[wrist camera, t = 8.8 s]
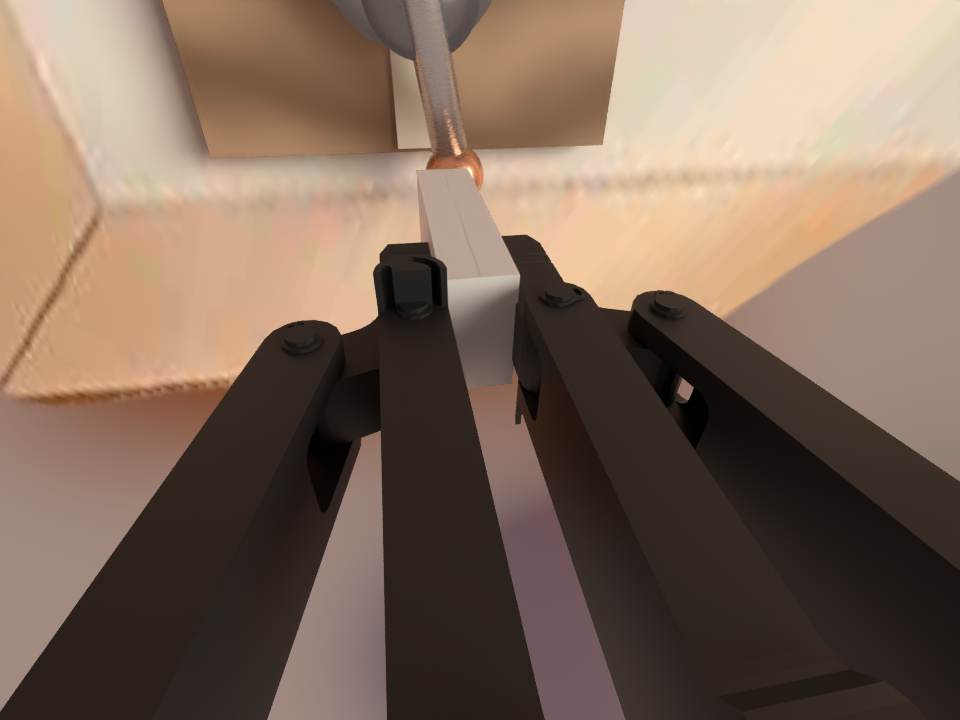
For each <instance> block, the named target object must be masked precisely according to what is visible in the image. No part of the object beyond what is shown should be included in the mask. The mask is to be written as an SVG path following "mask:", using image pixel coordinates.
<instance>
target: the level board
mask: <svg viewBox="0 0 960 720" xmlns="http://www.w3.org/2000/svg"><path fill="white" fill-rule="evenodd" d="M162 1H163V4H164V7H165V11H166V14H167V17H168V20H169V24H170V27H171V30H172V33H173V37H174V40H175V43H176V46H177V50H178V53H179V56H180V59H181V63H182V66H183V69H184V72H185V76H186V79H187V82H188V85H189V89H190V92H191V95H192V98H193V101H194V105H195V108H196V111H197V114H198V118H199V121H200V124H201V127H202V131H203V134H204V137H205V140H206V144H207V147H208V150H209V153H210V157H211V158H231V157H260V156H290V155H319V154H349V153H379V152H408V151H432V149H431V145H430V140H429V135H428V130H427V125H426V121H425V116H424V111H423V106H422V101H421V97H420V92H419V87H418V82H417V77H416V73H415V68H414V63H413V61H412V60H409V59H406V58H404V57H402V56H400V55H398V54H396V53H395V52H393V51H392V50H390V49H389V48H386V47H384V46H382V45H380V44H378V43H376V42H374V41H372V40H371V39H369V38H368V37H366V36H365V35H363V34H362V33H361V32H359V31H358V30H357V29H356V28H355V27H354V26H352V25H351V24H350V23H349V21H348V20H347V19H346V18H345V17H344V16H343V15H342V14H341V13H340V11H339V10H338V9H337V7H336V6H335V4H334V3H333V2H332V0H162ZM624 2H625V0H492V2H491V4H490V6H489V8H488V9H487V11H486V12H485V14H484V15H483V17H482V18H481V19H480V21H479V22H478V23H477V24H476V25H475V26H474V28H473V29H472V30H471V32H470V34H469V36H468V37H467V39H466V40H465V41H464V42H463V44H462V45H461V46H460V47H459V48H458V49H457V50H455V51H454V52H453V53H452V55H453V61H454V67H455V73H456V79H457V85H458V92H459V98H460V104H461V110H462V116H463V122H464V128H465V134H466V140H467V147H468V148H470V149H497V148H527V147H556V146H586V145H603V138H604V132H605V125H606V119H607V112H608V106H609V99H610V93H611V86H612V80H613V73H614V67H615V60H616V54H617V47H618V41H619V34H620V28H621V21H622V15H623V9H624Z"/></svg>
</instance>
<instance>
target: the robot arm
mask: <svg viewBox="0 0 960 720" xmlns="http://www.w3.org/2000/svg"><path fill="white" fill-rule="evenodd" d="M417 185H418V200H419V216H420V231H421V243H405V244H388V245H387V246H386V247H385V249H384V250H383V251H382V252H381V253H380V263H379V264H378V265H377V266H376V267H375V269H374V272H373V276H374V284H375V291H376V299H377V306H378V317H377V318H376V319H375V320H374V321H373V322H372V323H370V324H369V325H367V326H365V327H363V328H361V329H359V330H356V331H353V332H350V333H346V334H343V335H341V334H340V332H339V330H338V329H337V327H335V326H333V325H331V324H330V323H328V322H323V321H317V320H308V321H297V322H293V323H290V324H287V325H284V326H282V327H280V328H278V329H276V330H274V331H273V332H272V333H271V334H270V335H269V336H268V337H266V338H265V339H264V341H263V342H262V344H261V345H260V346H259V348H258V349H257V351H256V352H255V353H254V355H253V356H252V358H251V359H250V361H249V362H248V363H247V365H246V366H245V368H244V369H243V370H242V372H241V373H240V375H239V376H238V377H237V379H236V380H235V382H234V383H233V384H232V386H231V387H230V389H229V390H228V392H227V393H226V394H225V396H224V397H223V399H222V400H221V401H220V403H219V404H218V406H217V407H216V409H215V410H214V411H213V413H212V414H211V415H210V417H209V418H208V420H207V421H206V423H205V424H204V425H203V427H202V428H201V430H200V431H199V432H198V434H197V435H196V437H195V438H194V439H193V441H192V442H191V444H190V445H189V447H188V448H187V450H186V451H185V452H184V454H183V455H182V456H181V458H180V459H179V461H178V462H177V463H176V465H175V466H174V468H173V469H172V471H171V472H170V473H169V475H168V476H167V477H166V479H165V480H164V482H163V483H162V485H161V486H160V487H159V489H158V490H157V492H156V493H155V494H154V496H153V497H152V499H151V500H150V502H149V503H148V504H147V506H146V507H145V508H144V510H143V511H142V513H141V514H140V516H139V517H138V518H137V520H136V521H135V523H134V524H133V526H132V527H131V528H130V530H129V531H128V533H127V534H126V535H125V537H124V538H123V539H122V541H121V542H120V544H119V545H118V546H117V548H116V549H115V551H114V552H113V554H112V555H111V556H110V558H109V559H108V561H107V562H106V563H105V565H104V566H103V568H102V569H101V570H100V572H99V573H98V575H97V576H96V577H95V579H94V581H93V582H92V583H91V585H90V586H89V587H88V589H87V590H86V592H85V593H84V595H83V596H82V597H81V599H80V600H79V601H78V603H77V604H76V606H75V607H74V608H73V610H72V611H71V613H70V614H69V616H68V617H67V618H66V620H65V621H64V623H63V624H62V626H61V627H60V628H59V630H58V631H57V632H56V634H55V635H54V637H53V638H52V640H51V641H50V642H49V644H48V645H47V647H46V648H45V649H44V651H43V652H42V654H41V655H40V656H39V658H38V659H37V661H36V662H35V663H34V665H33V666H32V668H31V669H30V671H29V672H28V673H27V675H26V676H25V678H24V679H23V680H22V682H21V683H20V685H19V686H18V687H17V689H16V690H15V692H14V693H13V694H12V696H11V697H10V699H9V700H8V701H7V703H6V704H5V706H4V707H3V709H2V710H1V712H0V720H267V718H268V715H269V712H270V710H271V706H272V703H273V701H274V698H275V695H276V692H277V689H278V686H279V683H280V680H281V677H282V674H283V672H284V669H285V666H286V663H287V660H288V657H289V654H290V651H291V648H292V645H293V642H294V640H295V637H296V634H297V630H298V628H299V625H300V622H301V619H302V616H303V613H304V610H305V607H306V604H307V601H308V598H309V596H310V593H311V590H312V587H313V584H314V581H315V578H316V575H317V572H318V569H319V567H320V563H321V561H322V557H323V555H324V552H325V549H326V546H327V543H328V540H329V537H330V534H331V531H332V529H333V525H334V523H335V520H336V517H337V514H338V511H339V508H340V505H341V502H342V499H343V496H344V493H345V491H346V488H347V485H348V482H349V478H350V476H351V473H352V470H353V467H354V464H355V461H356V458H357V455H358V452H359V450H360V447H361V438H362V437H365V436H367V435H370V434H372V433H375V432H378V431H381V458H382V505H383V547H384V596H385V597H384V598H385V644H386V689H387V690H386V691H387V720H545V719H544V715H543V711H542V707H541V703H540V700H539V695H538V691H537V686H536V682H535V678H534V673H533V669H532V665H531V661H530V656H529V652H528V648H527V643H526V640H525V635H524V630H523V626H522V623H521V618H520V613H519V609H518V605H517V600H516V596H515V592H514V587H513V583H512V579H511V575H510V571H509V566H508V562H507V557H506V553H505V549H504V544H503V540H502V536H501V532H500V527H499V523H498V519H497V514H496V510H495V506H494V501H493V498H492V493H491V489H490V484H489V480H488V476H487V471H486V467H485V463H484V458H483V454H482V450H481V446H480V441H479V437H478V433H477V428H476V424H475V420H474V416H473V411H472V407H471V403H470V398H469V394H468V390H467V388H475V387H485V386H494V385H504V384H512V377H513V365H514V367H515V370H516V373H517V375H518V389H517V401H516V414H515V424H520V423H521V415H522V414H523V416H524V419H525V422H526V425H527V428H528V431H529V434H530V437H531V440H532V443H533V446H534V449H535V452H536V455H537V458H538V461H539V464H540V467H541V470H542V473H543V476H544V479H545V482H546V485H547V488H548V491H549V494H550V497H551V499H552V502H553V505H554V508H555V511H556V514H557V517H558V520H559V523H560V526H561V529H562V532H563V535H564V538H565V541H566V544H567V547H568V550H569V553H570V556H571V559H572V562H573V565H574V567H575V571H576V574H577V576H578V580H579V582H580V585H581V588H582V591H583V594H584V597H585V600H586V603H587V606H588V609H589V612H590V615H591V618H592V621H593V624H594V627H595V630H596V633H597V636H598V638H599V642H600V644H601V648H602V651H603V654H604V657H605V660H606V663H607V666H608V668H609V671H610V674H611V677H612V680H613V683H614V686H615V689H616V692H617V695H618V698H619V701H620V704H621V707H622V710H623V713H624V716H625V719H626V720H960V482H959V481H958V480H957V479H955V478H954V477H952V476H950V475H949V474H948V473H946V472H945V471H943V470H942V469H940V468H939V467H937V466H936V465H935V464H933V463H931V462H930V461H928V460H927V459H926V458H924V457H923V456H921V455H920V454H918V453H917V452H915V451H914V450H912V449H911V448H910V447H908V446H906V445H905V444H904V443H902V442H901V441H899V440H898V439H896V438H895V437H893V436H892V435H890V434H889V433H887V432H886V431H885V430H883V429H881V428H880V427H879V426H877V425H876V424H874V423H873V422H871V421H870V420H868V419H867V418H865V417H864V416H862V415H861V414H859V413H858V412H857V411H855V410H854V409H852V408H851V407H849V406H848V405H846V404H845V403H843V402H842V401H840V400H839V399H837V398H836V397H835V396H833V395H832V394H830V393H829V392H827V391H826V390H824V389H823V388H821V387H820V386H818V385H817V384H815V383H814V382H812V381H811V380H810V379H808V378H807V377H805V376H804V375H802V374H801V373H799V372H798V371H796V370H795V369H793V368H792V367H790V366H789V365H787V364H786V363H784V362H783V361H782V360H780V359H779V358H777V357H776V356H774V355H773V354H771V353H770V352H768V351H767V350H765V349H764V348H763V347H761V346H759V345H758V344H757V343H755V342H753V341H752V340H751V339H749V338H748V337H746V336H745V335H743V334H742V333H740V332H739V331H738V330H736V329H735V328H733V327H732V326H730V325H728V324H727V323H726V322H724V321H723V320H721V319H720V318H718V317H717V316H715V315H714V314H713V313H711V312H710V311H708V310H707V309H705V308H704V307H702V306H701V305H699V304H698V303H696V302H695V301H693V300H691V299H689V298H687V297H685V296H683V295H679V294H676V293H674V292H671V291H666V292H665V291H660V290H658V291H650V292H645V293H642V294H640V295H637V297H636V298H635V299H634V301H633V304H632V308H631V311H624V310H615V309H606V308H601V307H598V306H597V304H596V303H595V301H594V300H593V298H592V297H591V295H590V294H589V293H587V292H586V291H585V290H584V289H583V288H580V287H578V286H576V285H574V284H570V283H565V282H564V281H563V279H562V278H561V276H560V275H559V273H558V271H557V270H556V268H555V267H554V265H553V263H551V260H550V259H549V257H548V255H546V252H545V251H544V249H543V247H542V246H541V244H540V243H539V242H538V241H536V240H534V239H533V238H531V237H529V236H528V235H514V236H501V235H500V233H499V231H498V229H497V227H496V225H495V223H494V221H493V219H492V216H491V214H490V212H489V210H488V208H487V206H486V204H485V202H484V200H483V198H482V196H481V194H480V192H479V190H478V188H477V186H476V184H475V182H474V180H473V178H472V176H471V174H470V172H469V170H468V168H463V169H436V170H417ZM682 378H683V379H684V380H686V381H687V382H688V383H689V384H690V385H691V386H693V387H694V389H693V392H692V394H691V397H690V399H689V400H686V399H684V398H683V397H681V396H680V395H679V394H678V393H677V392H678V389H679V386H680V383H681V380H682Z"/></svg>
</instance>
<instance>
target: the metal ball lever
mask: <svg viewBox="0 0 960 720" xmlns="http://www.w3.org/2000/svg"><path fill="white" fill-rule="evenodd" d="M332 2H333V3H334V4H335V6H336V7H337V9H338V10H339V11H340V13H341V14H342V15H343V16H344V17H345V18H346V19H347V20H348V21H349V23H350V24H351V25H352V26H354V27H355V28H356V29H357V30H358V31H359V32H361V33H362V34H363V35H365V36H366V37H368V38H369V39H371V40H372V41H374V42H376V43H378V44H380V45H382V46H384V47H386V48H389V49H390V50H392V51H393V52H395V53H396V54H398V55H400V56H402V57H404V58H406V59H409V60H412V61H413V63H414V68H415V73H416V77H417V82H418V87H419V92H420V97H421V101H422V106H423V111H424V116H425V121H426V125H427V130H428V135H429V140H430V145H431V149H432V155H431V157H430V159H429V161H428V163H427V166H426V170H436V169H463V168H468V170H469V172H470V174H471V176H472V178H473V180H474V182H475V184H476V186H477V188H478V190H479V191H480V189H481V186H482V183H483V167H482V164H481V161H480V160H479V158H478V156H477V155H476V154H475V153H474V152H473V151H472V150H471V149H470V148H468V147H467V140H466V134H465V128H464V122H463V116H462V110H461V104H460V98H459V92H458V85H457V79H456V73H455V67H454V61H453V55H452V53H453V52H454V51H455V50H457V49H458V48H459V47H460V46H461V45H462V44H463V42H464V41H465V40H466V39H467V37H468V36H469V34H470V32H471V30H472V29H473V28H474V26H475V25H476V24H477V23H478V22H479V21H480V19H481V18H482V17H483V15H484V14H485V12H486V11H487V9H488V8H489V6H490V4H491V2H492V0H332Z"/></svg>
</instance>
